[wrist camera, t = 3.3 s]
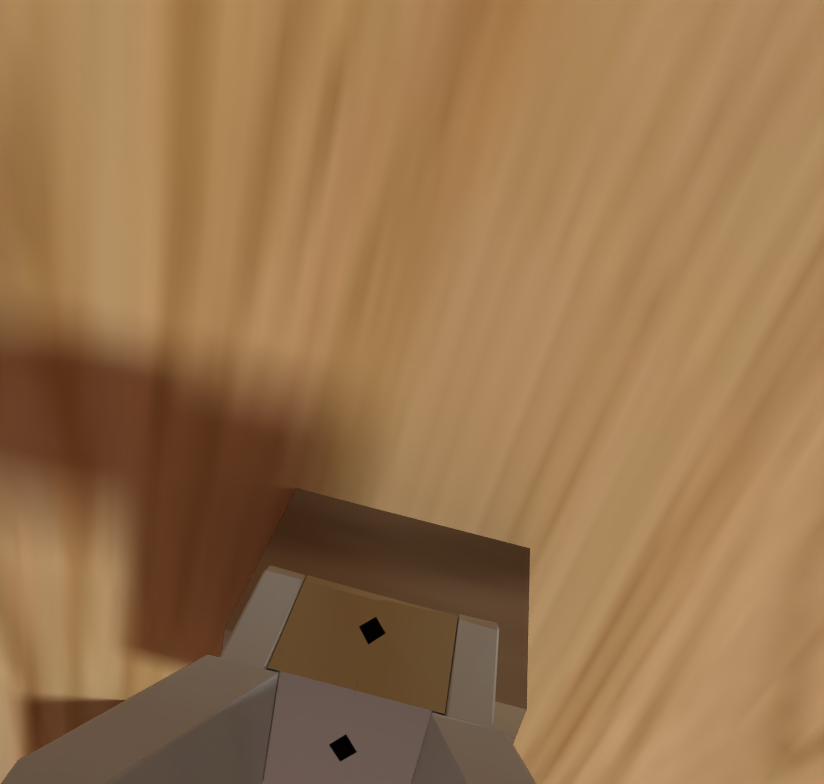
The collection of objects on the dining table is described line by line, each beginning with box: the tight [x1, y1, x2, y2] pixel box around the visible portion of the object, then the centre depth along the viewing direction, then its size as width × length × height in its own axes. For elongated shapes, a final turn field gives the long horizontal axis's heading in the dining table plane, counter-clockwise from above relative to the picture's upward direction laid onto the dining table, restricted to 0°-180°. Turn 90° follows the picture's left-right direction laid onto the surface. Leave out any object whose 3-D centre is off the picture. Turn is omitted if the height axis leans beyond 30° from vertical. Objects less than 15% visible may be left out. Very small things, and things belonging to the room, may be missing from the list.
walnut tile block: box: [222, 489, 530, 744], centre depth 18 cm, size 6×6×5 cm
